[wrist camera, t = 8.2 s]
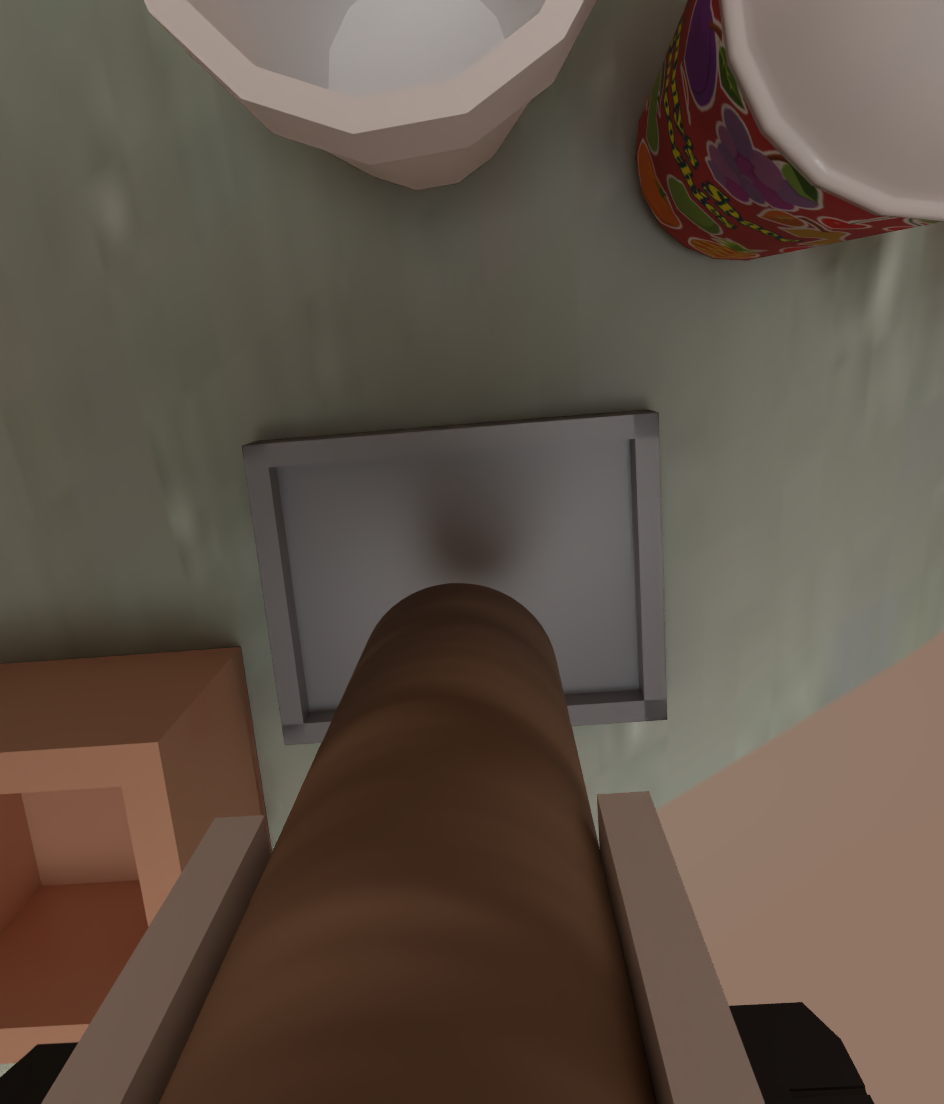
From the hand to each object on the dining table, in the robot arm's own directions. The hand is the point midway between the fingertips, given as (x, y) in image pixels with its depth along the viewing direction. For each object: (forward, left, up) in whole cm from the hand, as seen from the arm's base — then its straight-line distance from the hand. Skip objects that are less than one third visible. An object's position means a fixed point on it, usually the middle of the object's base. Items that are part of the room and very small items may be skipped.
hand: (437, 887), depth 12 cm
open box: (-14, -7, -18) cm, 24 cm away
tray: (0, 0, -18) cm, 18 cm away
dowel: (0, 0, -9) cm, 9 cm away
